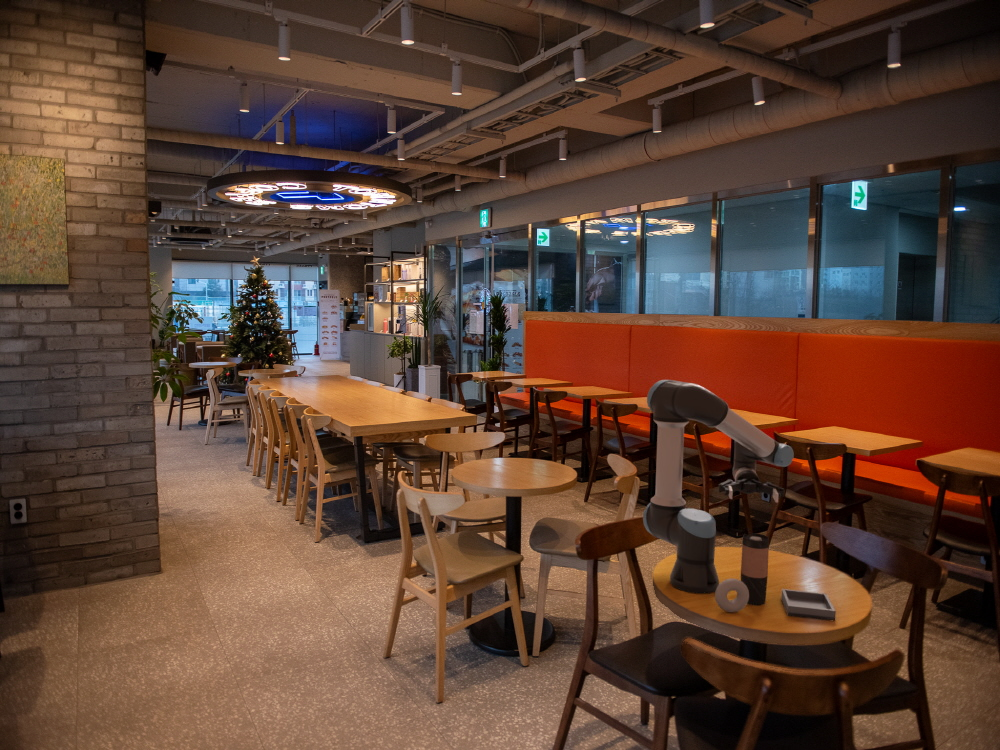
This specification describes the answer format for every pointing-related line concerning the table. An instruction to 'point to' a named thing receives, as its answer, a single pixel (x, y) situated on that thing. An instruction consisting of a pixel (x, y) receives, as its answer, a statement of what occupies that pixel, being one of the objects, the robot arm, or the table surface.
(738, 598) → the donut
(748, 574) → the travel mug
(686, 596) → the table surface
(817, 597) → the tray
